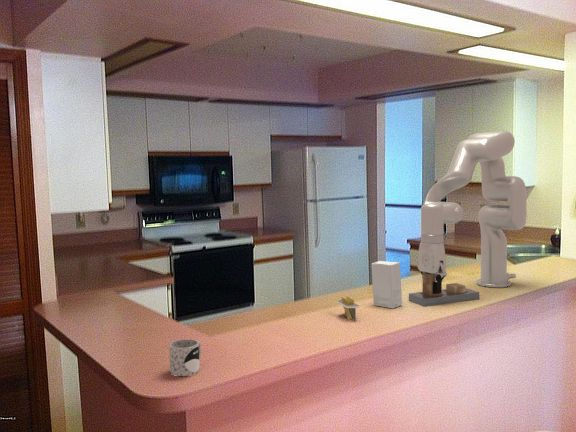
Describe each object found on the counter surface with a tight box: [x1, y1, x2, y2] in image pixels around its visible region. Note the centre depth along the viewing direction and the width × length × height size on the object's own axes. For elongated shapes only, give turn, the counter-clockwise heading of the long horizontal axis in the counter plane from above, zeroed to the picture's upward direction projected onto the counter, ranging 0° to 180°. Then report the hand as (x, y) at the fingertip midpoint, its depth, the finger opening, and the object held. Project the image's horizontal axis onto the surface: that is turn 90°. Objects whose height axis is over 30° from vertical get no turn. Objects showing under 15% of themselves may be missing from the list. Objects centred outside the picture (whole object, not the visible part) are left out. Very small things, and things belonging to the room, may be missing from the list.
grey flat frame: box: [408, 287, 480, 307], centre depth 185 cm, size 23×9×2 cm, turn 111°
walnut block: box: [421, 272, 443, 297], centre depth 182 cm, size 5×5×8 cm
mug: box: [168, 338, 202, 377], centre depth 123 cm, size 10×7×7 cm, turn 158°
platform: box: [337, 295, 360, 321], centre depth 165 cm, size 12×18×7 cm, turn 17°
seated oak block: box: [445, 282, 466, 294], centre depth 186 cm, size 5×5×5 cm
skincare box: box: [371, 260, 403, 309], centre depth 178 cm, size 8×6×15 cm
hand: (432, 291), depth 183 cm, fingers closed on walnut block, 4 cm apart
